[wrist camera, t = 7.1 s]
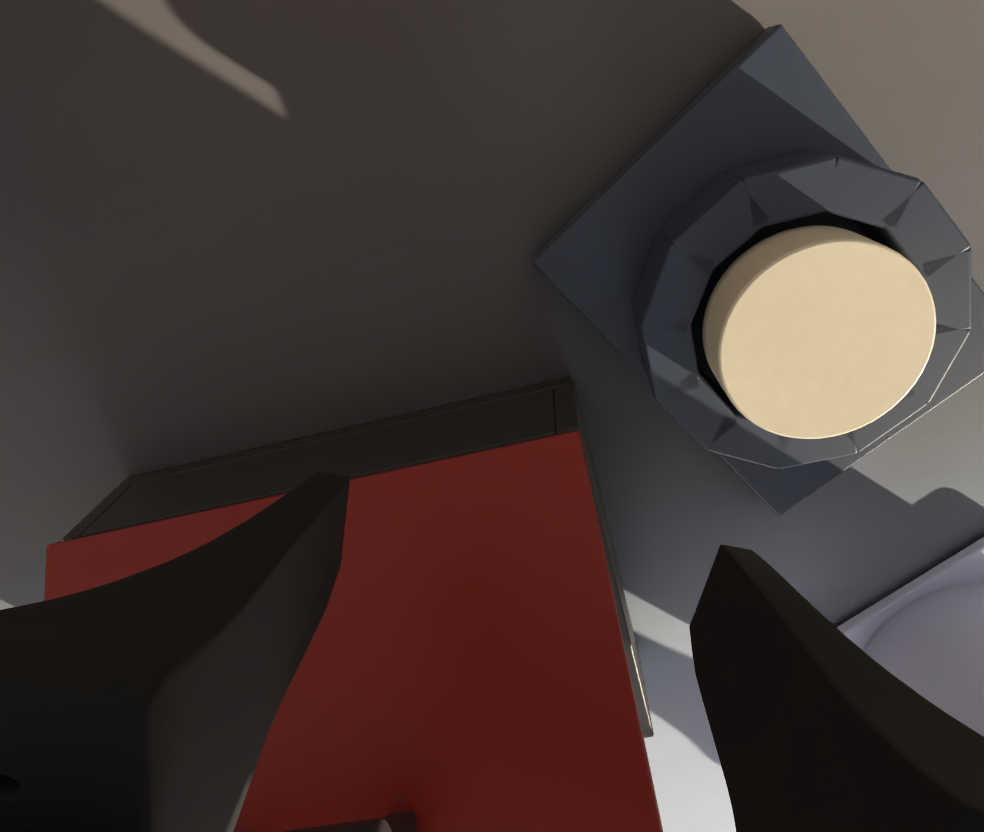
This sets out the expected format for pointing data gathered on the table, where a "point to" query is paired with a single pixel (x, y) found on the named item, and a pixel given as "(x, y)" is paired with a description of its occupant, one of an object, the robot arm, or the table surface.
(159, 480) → the black shallow box
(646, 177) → the switch block
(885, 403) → the power button
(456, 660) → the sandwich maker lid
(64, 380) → the table surface
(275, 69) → the table surface
